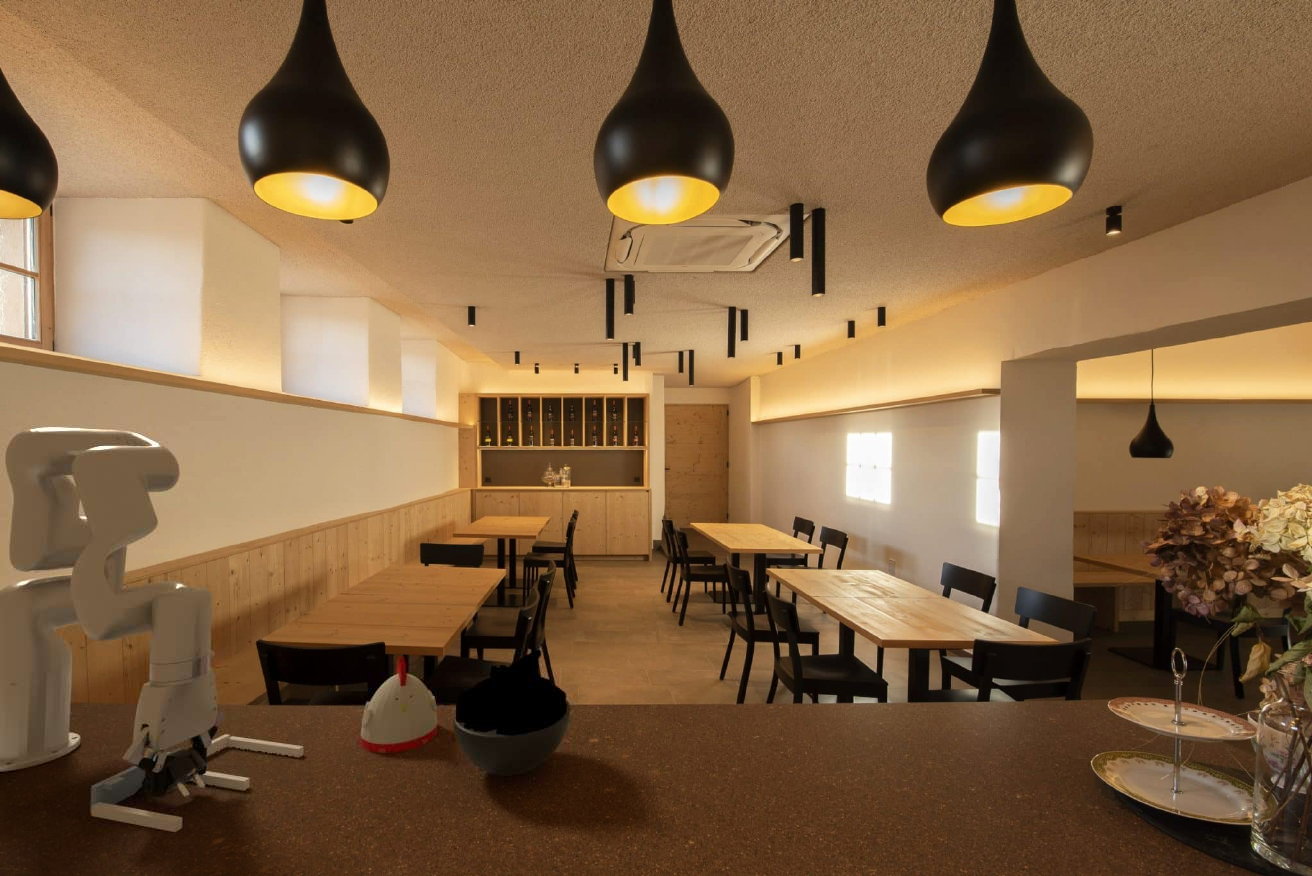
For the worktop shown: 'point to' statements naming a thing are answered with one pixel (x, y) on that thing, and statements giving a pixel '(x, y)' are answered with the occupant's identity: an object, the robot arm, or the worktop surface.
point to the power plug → (181, 770)
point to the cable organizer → (132, 779)
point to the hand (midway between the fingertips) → (176, 782)
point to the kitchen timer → (399, 714)
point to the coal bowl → (511, 719)
